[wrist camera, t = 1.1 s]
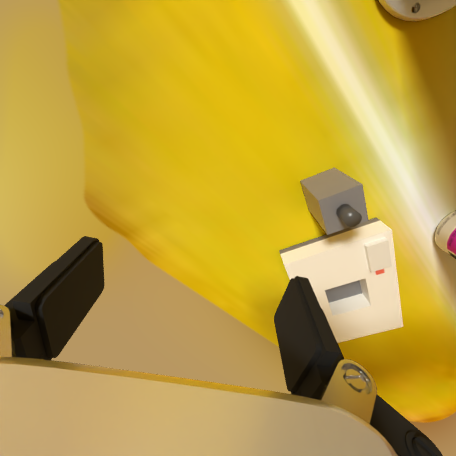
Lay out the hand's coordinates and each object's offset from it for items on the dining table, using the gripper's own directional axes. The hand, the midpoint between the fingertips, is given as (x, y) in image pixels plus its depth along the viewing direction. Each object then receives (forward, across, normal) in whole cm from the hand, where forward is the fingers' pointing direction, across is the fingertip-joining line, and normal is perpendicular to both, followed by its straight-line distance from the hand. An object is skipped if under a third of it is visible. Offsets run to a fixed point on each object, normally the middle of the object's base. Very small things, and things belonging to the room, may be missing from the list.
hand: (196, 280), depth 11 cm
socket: (+25, -26, +16) cm, 39 cm away
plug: (+25, -16, 0) cm, 29 cm away
